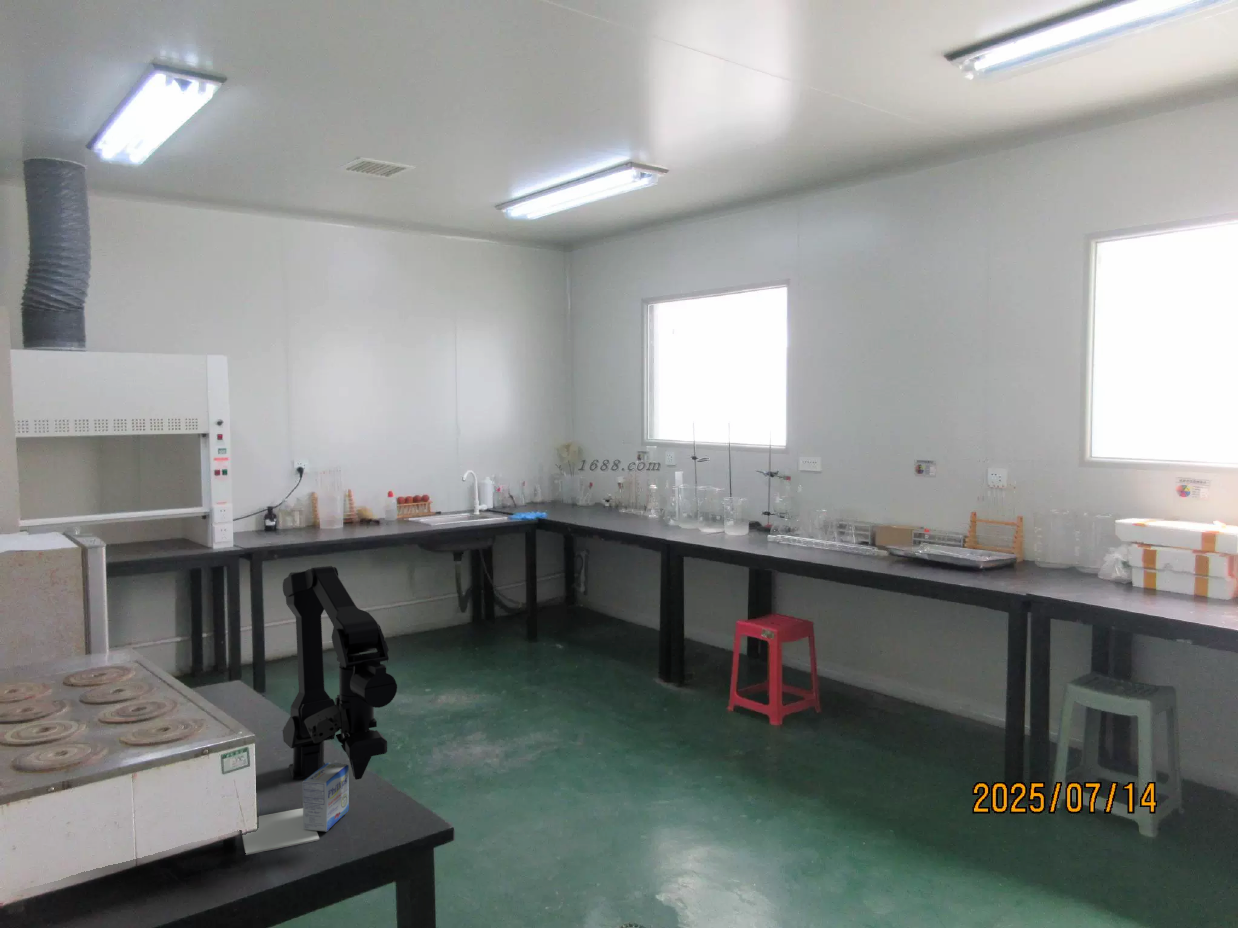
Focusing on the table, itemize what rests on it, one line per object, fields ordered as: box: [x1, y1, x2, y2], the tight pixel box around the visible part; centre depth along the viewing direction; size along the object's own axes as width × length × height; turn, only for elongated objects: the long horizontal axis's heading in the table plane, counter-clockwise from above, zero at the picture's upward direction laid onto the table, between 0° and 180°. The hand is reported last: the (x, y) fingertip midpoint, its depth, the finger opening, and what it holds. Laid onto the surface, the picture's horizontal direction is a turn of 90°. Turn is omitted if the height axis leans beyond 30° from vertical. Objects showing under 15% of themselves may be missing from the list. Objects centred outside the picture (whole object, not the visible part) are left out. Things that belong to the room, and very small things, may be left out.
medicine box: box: [302, 762, 350, 833], centre depth 144 cm, size 8×4×9 cm, turn 170°
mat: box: [241, 807, 320, 856], centre depth 141 cm, size 12×11×1 cm
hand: (357, 777), depth 146 cm, fingers closed
